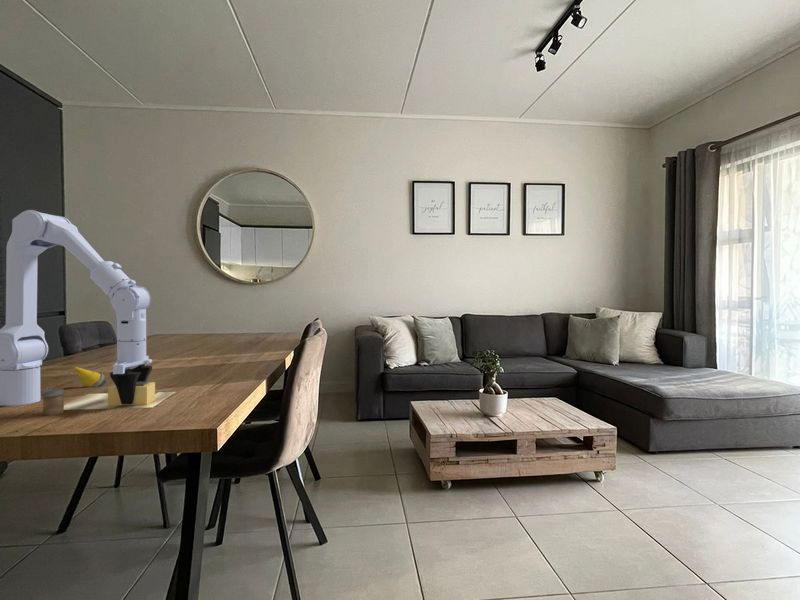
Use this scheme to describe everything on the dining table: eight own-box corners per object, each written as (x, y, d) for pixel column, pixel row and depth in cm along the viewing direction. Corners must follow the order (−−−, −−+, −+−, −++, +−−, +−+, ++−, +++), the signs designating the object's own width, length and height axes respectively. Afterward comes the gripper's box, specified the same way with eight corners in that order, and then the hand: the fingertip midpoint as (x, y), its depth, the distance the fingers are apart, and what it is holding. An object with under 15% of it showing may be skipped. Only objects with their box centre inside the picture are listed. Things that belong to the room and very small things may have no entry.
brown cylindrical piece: (38, 422, 96) (38, 392, 96) (49, 417, 100) (48, 388, 100) (58, 421, 97) (58, 391, 97) (67, 416, 101) (67, 388, 100)
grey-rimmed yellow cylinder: (110, 391, 127) (81, 370, 121) (91, 399, 128) (62, 378, 121) (113, 376, 131) (86, 355, 125) (96, 384, 132) (67, 363, 125)
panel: (51, 415, 101) (51, 410, 101) (88, 398, 117) (88, 393, 117) (152, 412, 104) (152, 407, 104) (175, 396, 120) (175, 391, 120)
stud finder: (107, 405, 105) (107, 385, 105) (117, 400, 110) (117, 381, 110) (146, 404, 106) (146, 384, 106) (155, 399, 111) (155, 380, 111)
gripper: (138, 343, 101) (138, 408, 101) (161, 337, 116) (162, 393, 116) (101, 344, 100) (102, 409, 100) (130, 337, 115) (130, 394, 115)
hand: (132, 400), depth 108 cm, fingers closed on stud finder, 5 cm apart
